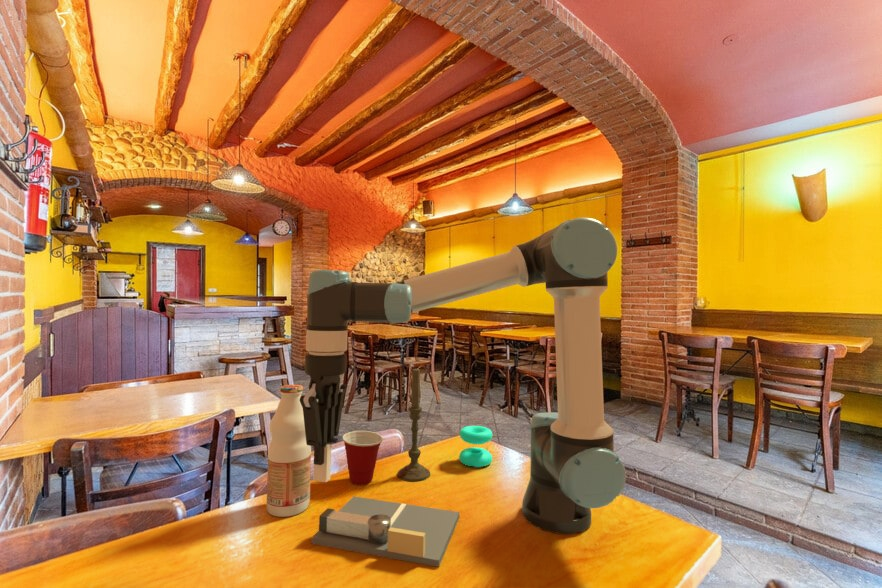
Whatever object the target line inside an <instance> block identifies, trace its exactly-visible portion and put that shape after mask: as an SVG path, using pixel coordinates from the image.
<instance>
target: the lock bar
mask: <svg viewBox="0 0 882 588" xmlns="http://www.w3.org/2000/svg"><path fill="white" fill-rule="evenodd" d="M318 520H319V521H318V523H319V524H318V531H321V532H329V533H335V534H340V535H346V536H352V537H357V538H363V539H368V540H369V541H371V542H373V543H383V542H386V541H387V540H388V530H389V528H390V527H391V518H390V517H389V516H387V515H383V514H378V515H374V516H372V517H371V516H365V515H358V514H352V513H346V512H340V511H339V510H335V509H334V508H326V509H325V510H324V511H323V512H322V513H321V514H320V515H319V517H318Z"/></svg>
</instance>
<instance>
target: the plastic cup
mask: <svg viewBox="0 0 882 588" xmlns="http://www.w3.org/2000/svg"><path fill="white" fill-rule="evenodd" d="M383 439H384V437H383V435H381V434H379V433H378V432H374V431H369V430H354V431H348V432H346V433H344V434H343V435H342V440H343V442H344V443H343V444H344V448H345V449H344V450H345V454H346V461H347V462H346V463H347V464H346V465H347V470H348V475H349V481H350V483H351V485H352V484H353V485H355V486H365V485H366V486H367V485H368V484H370V483H371V482H373V478H374V473H375V468H376V464H377V458H378V454H379V449H380V446H381V443H383Z"/></svg>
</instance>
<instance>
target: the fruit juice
mask: <svg viewBox="0 0 882 588" xmlns="http://www.w3.org/2000/svg"><path fill="white" fill-rule="evenodd" d="M303 391H304V387H303V385H301V384H286V385H282V386H280V395H281V397H280V400H279V402H278V405H277V408H276V411H275V413H274V414H273V416H272V418H271V419H270V421H269V433H270V436H271V440H270V442H269V445H268V451H267V478H266V479H267V481H266V512H268V514H269V515H271V516H273V517H278V518H287V517H288V518H289V517H291V516H296V515H298V514H301V513H304V511H306V510H307V508H308V507H309V505H310V500H311V466H312V460H311V459H312V446H309V445H307V444H306V434H305V425H304V416H303V408H302V405H301V403H300V397H301V396H302V395H303Z"/></svg>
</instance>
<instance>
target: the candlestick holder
mask: <svg viewBox="0 0 882 588" xmlns="http://www.w3.org/2000/svg"><path fill="white" fill-rule="evenodd" d="M420 376H421V370H420V369H419V368H416V367H414V369H413V368H412V370H411V406H409V407H408V411H409V412H410V413H409V416H408V417H409V419H411V421H412V422H411V429H410V430H411V441H412V442H411V448H410V449H409V450H408V451H407V452H408V457H409V458H410V462H409V463H408V464H406V465H404V466H403V467H402V468H400V469H399V470H398V472H397V477H399V479H401V480H403V481H406V482H422V481H425V480H426V479H428V478H429V477H430V476H431V471H430V469H428V468H427V467H425V466H424V465H422V464H420V463H419V458H420V456H421V449H419V447H418V434H419V433H418V432H419V428H420V427H419V423H418V421H420V419H421V418H422V414H421V412H422V410H423V407H422V406H420V392H421V391H420V390H421V389H420V385H421V383H420V382H421V380H420V378H421V377H420ZM424 479H425V480H424ZM421 480H422V481H421Z"/></svg>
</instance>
